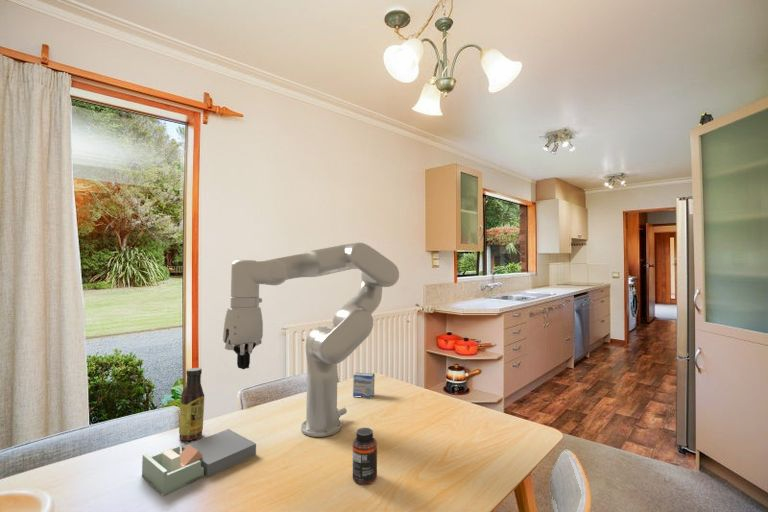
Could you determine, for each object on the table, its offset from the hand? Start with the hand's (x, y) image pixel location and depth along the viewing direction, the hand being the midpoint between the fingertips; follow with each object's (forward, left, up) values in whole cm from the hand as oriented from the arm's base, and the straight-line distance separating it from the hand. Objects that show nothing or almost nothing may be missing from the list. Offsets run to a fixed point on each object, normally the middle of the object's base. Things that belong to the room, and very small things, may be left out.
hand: (243, 367), depth 101 cm
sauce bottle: (+6, -17, -22) cm, 29 cm away
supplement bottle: (-10, +37, -22) cm, 44 cm away
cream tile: (+18, 0, -19) cm, 26 cm away
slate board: (+6, 0, -22) cm, 23 cm away
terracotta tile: (+14, 0, -20) cm, 25 cm away
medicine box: (-52, +1, -22) cm, 57 cm away
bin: (+18, 0, -22) cm, 29 cm away
